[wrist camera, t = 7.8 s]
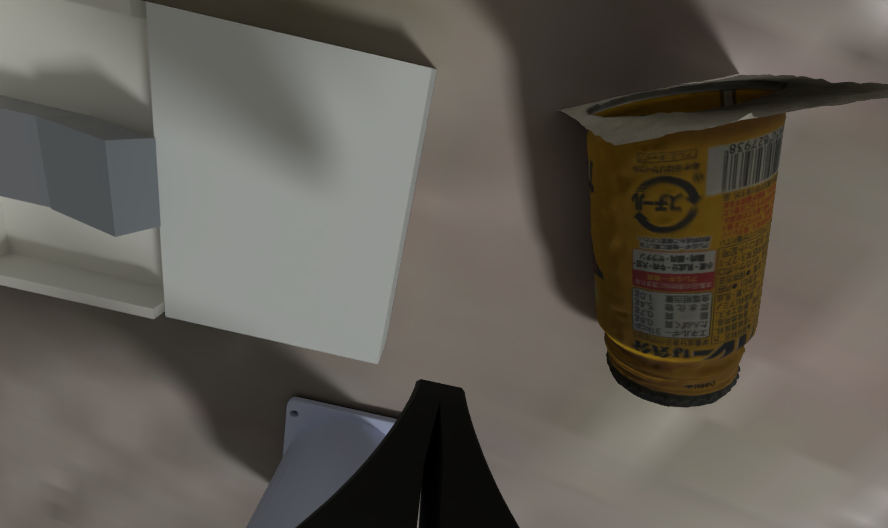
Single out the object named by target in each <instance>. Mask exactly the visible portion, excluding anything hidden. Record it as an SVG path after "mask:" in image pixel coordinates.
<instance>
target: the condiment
mask: <svg viewBox="0 0 888 528" xmlns="http://www.w3.org/2000/svg"><path fill="white" fill-rule="evenodd" d="M887 97H888V84H880V83H862V84H859V83H855V82H841V83H830V82H828V81H826V80H824V79H813V78H808V77H804V76H799V77H796V76H793V75H779V76H773V75H738V76H734V77H730V78H725V79H720V80H714V81H705V82H703V83H692V84H682V85H675V86H670V87H667V88H659V89H654V90H649V91H642V92H637V93H632V94H628V95H623V96H618V97H613V98H610V99H604V100H601V101H599V102H594V103H587V104H583V105H580V106H574V107H570V108H565V109H562V110H558V111H562V112H563V113H564V112H565V113H566V114H567V115H569V116H570V117H572V118H574V119H576V120H577V121H578V122H579V123H580V124H581V125H582V126H584V127H585V128H586V129H587V130H588V132H587V136H586V137H587V150H588V168H589V180H590V181H589V187H590V189H589V190H590V200H591V212H590V215H591V222H590V224H591V225H592V226H591V236H592V241H593V243H592V250H593V261H594V279H595V306H596V307H595V310H596V314H597V320H598V323H599V325H600V326H601V328H602V329H603V330H604V331H605V336H604V339H605V344H606V346H607V354H606V357H607V364H608V365H609V368H610V371H611V372H612V375H613V377H614V378H615V380H616V381H617V382H618V384H620V385H622V386H623V387H624V388H625V389H627V390H628V391H629V392H631V393H632V394H634V395H636V396H638V397H640V398H642V399H644V400H647V401H650V402H654V403H657V404H660V405H664V406H668V407H669V406H673V407H692V406H701V405H706V404H711V403H714V402H716V401H717V400H718V399H720V398H721V397H723V396H724V395H726V394H727V393H728V392H729V391H731V388H732V387H733V386H734V385H735V384H736V382H737V381H736V380H737V379H738V378H739V374H738V372H739V371H740V367H739V365H738V364H739V362H740V360H741V358H742V355H743V353H744V352H745V348H744V345H745V344H746V343H747V342H748V341H749V340H750V339H751V338H752V337H753V336H754V334H755V331H756V328H757V323H758V316H759V309H760V302H761V295H762V286H763V278H764V270H765V265H766V258H767V249H768V242H769V235H770V226H771V221H772V213H773V204H774V197H775V189H776V181H777V175H778V166H779V160H780V153H781V144H782V138H783V130H784V124H785V119H786V112H791V111H796V110H801V109H806V108H808V109H809V108H815V107H820V106H835V105H843V104H848V103H852V102H856V101H865V100H870V99H880V98H887Z"/></svg>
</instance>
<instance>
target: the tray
mask: <svg viewBox="0 0 888 528" xmlns="http://www.w3.org/2000/svg"><path fill="white" fill-rule="evenodd" d="M0 95H2V96H7V97H11V98H15V99H20V100H24V101H29V102H33V103H37V104H42V105H46V106H50V107H55V108H59V109H63V110H68V111H72V112H76V113H81V114H85V115H90V116H93V117H96V118H98V119H101V120H104V121H107V122H110V123H113V124H116V125H119V126H122V127H125V128H128V129H131V130H134V131H136V132H139V133H142V134H145V135H148V136H151V137H154V128H153V112H152V96H151V80H150V64H149V48H148V32H147V16H146V1H142V0H0ZM0 285H3V286H7V287H12V288H16V289H21V290H25V291H30V292H34V293H38V294H43V295H47V296H52V297H56V298H61V299H65V300H70V301H74V302H79V303H83V304H88V305H92V306H97V307H101V308H105V309H110V310H114V311H119V312H123V313H128V314H132V315H137V316H141V317H146V318H150V319H155V318H156V317H158V316H159V315H161V314H162V313H163V312H165V304H164V288H163V272H162V256H161V240H160V226H159V227H155V228H151V229H147V230H143V231H138V232H134V233H130V234H126V235H122V236H118V237H114V236H112V235H109V234H107V233H105V232H103V231H100V230H98V229H96V228H93V227H91V226H89V225H87V224H84V223H82V222H80V221H77V220H75V219H73V218H71V217H68V216H66V215H64V214H61V213H59V212H57V211H55V210H52V209H51V207H46V206H42V205H37V204H33V203H29V202H24V201H20V200H15V199H11V198H7V197H2V196H0Z"/></svg>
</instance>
